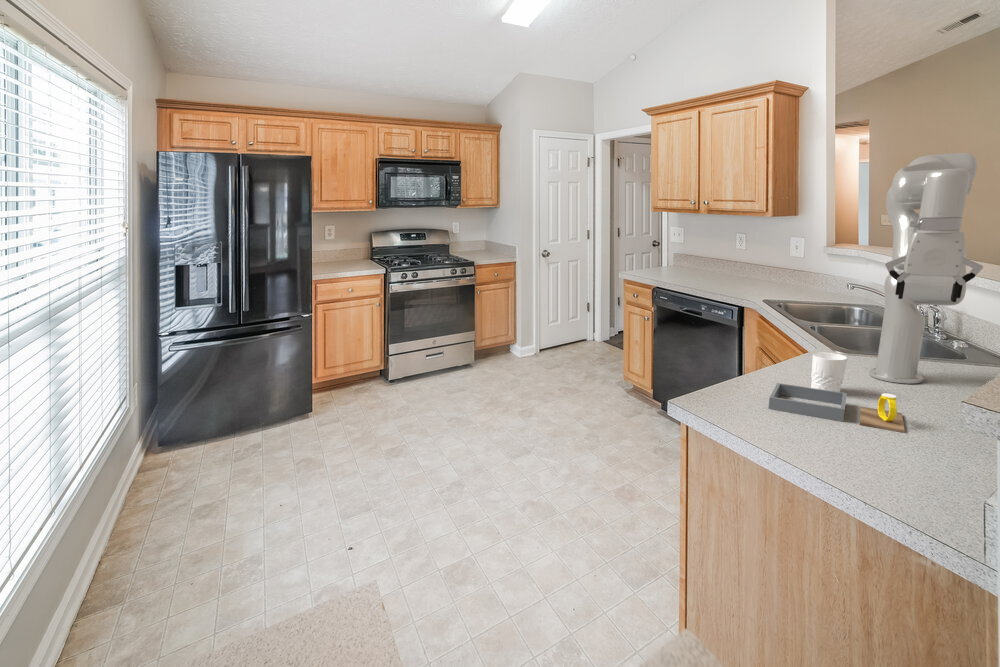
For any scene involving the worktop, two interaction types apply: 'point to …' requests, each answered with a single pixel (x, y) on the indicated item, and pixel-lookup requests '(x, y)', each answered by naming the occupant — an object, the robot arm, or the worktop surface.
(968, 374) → the worktop surface
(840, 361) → the white cup
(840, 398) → the bin
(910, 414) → the worktop surface
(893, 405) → the watch
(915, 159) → the robot arm
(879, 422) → the board
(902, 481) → the worktop surface
